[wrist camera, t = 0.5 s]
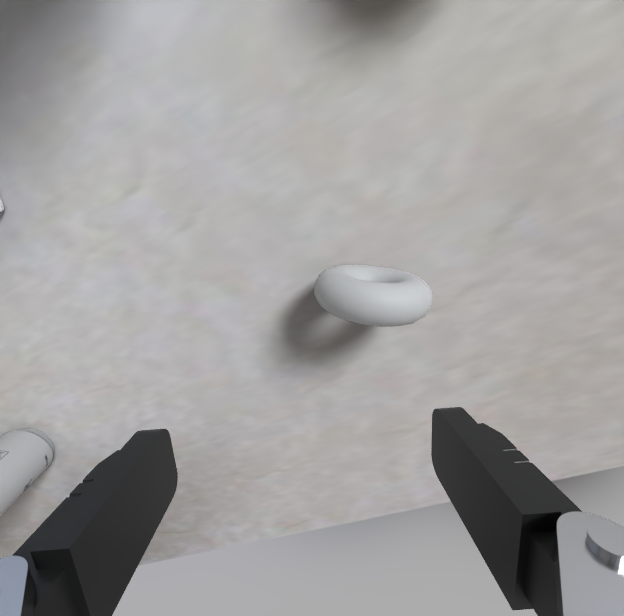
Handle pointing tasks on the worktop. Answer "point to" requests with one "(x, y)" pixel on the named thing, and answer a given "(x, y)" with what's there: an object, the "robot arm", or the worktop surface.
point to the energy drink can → (21, 462)
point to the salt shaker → (1, 206)
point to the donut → (373, 295)
